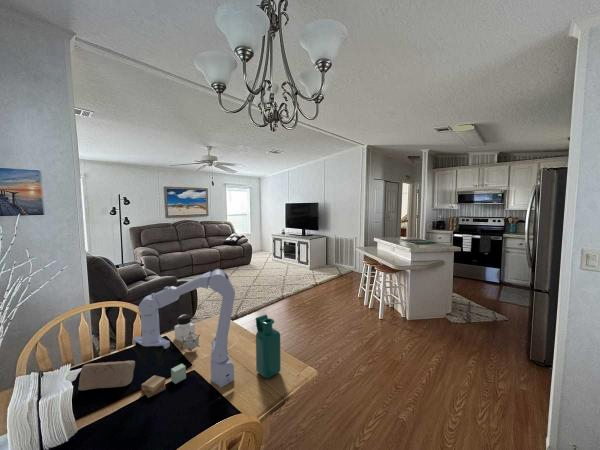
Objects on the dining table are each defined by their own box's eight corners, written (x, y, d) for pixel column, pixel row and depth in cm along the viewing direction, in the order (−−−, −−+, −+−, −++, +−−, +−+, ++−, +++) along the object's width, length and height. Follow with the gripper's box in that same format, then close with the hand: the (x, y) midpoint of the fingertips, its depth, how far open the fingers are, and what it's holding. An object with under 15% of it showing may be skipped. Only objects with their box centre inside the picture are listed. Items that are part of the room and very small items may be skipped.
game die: (204, 347, 127) (203, 327, 126) (195, 357, 118) (194, 336, 117) (186, 346, 127) (186, 326, 127) (177, 356, 119) (176, 335, 118)
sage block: (186, 378, 104) (185, 366, 104) (175, 384, 100) (174, 371, 100) (182, 375, 106) (181, 363, 105) (171, 381, 102) (170, 369, 102)
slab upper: (165, 383, 99) (165, 378, 99) (153, 392, 94) (153, 387, 94) (154, 380, 101) (154, 375, 100) (141, 389, 95) (141, 384, 95)
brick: (135, 359, 104) (131, 362, 100) (132, 382, 102) (128, 386, 98) (87, 362, 100) (80, 366, 95) (83, 386, 98) (76, 391, 93)
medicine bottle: (195, 337, 136) (194, 315, 135) (182, 343, 130) (182, 320, 129) (187, 333, 140) (186, 312, 139) (174, 339, 134) (173, 317, 133)
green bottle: (282, 371, 108) (282, 320, 106) (265, 380, 102) (265, 326, 101) (269, 360, 115) (268, 313, 114) (252, 368, 110) (252, 318, 108)
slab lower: (165, 390, 98) (165, 385, 97) (148, 399, 93) (147, 394, 93) (159, 383, 102) (159, 378, 101) (142, 391, 97) (142, 386, 97)
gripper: (174, 325, 98) (176, 359, 99) (142, 321, 101) (144, 355, 102) (161, 334, 91) (162, 371, 92) (127, 330, 94) (129, 365, 95)
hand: (152, 363), depth 96 cm, fingers open, 7 cm apart
